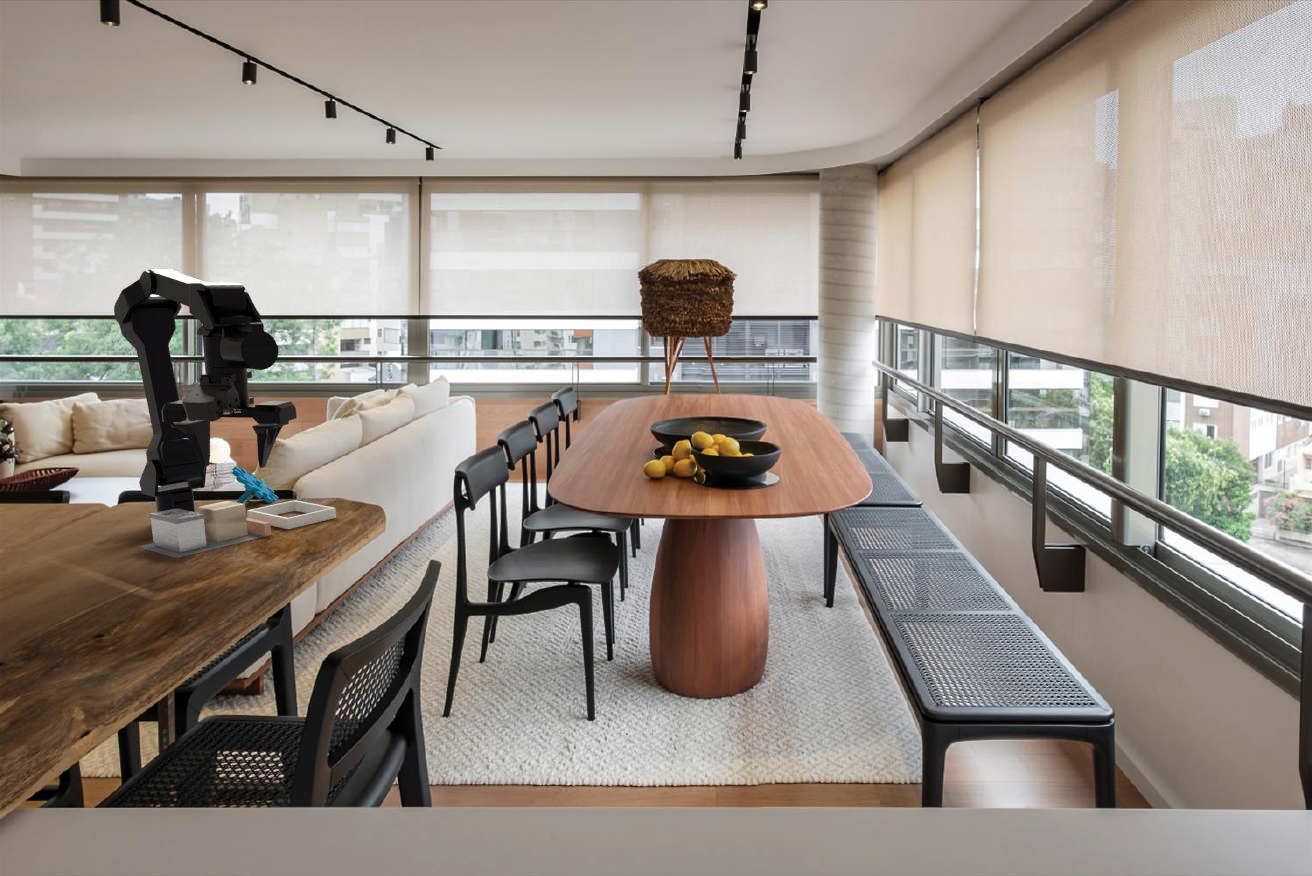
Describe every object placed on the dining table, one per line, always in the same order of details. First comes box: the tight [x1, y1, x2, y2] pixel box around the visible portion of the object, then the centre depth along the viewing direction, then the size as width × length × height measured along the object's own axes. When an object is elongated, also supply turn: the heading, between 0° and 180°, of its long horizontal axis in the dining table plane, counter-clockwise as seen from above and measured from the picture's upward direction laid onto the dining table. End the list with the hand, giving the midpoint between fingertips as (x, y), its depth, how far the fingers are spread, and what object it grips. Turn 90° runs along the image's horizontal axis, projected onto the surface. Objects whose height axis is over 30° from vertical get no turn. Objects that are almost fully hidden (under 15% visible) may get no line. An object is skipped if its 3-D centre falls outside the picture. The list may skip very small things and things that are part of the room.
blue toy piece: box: [231, 466, 279, 504], centre depth 168 cm, size 11×6×10 cm
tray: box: [246, 499, 337, 530], centre depth 152 cm, size 12×9×2 cm
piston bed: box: [137, 516, 272, 559], centre depth 139 cm, size 12×15×3 cm
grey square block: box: [149, 508, 207, 553], centre depth 136 cm, size 8×4×5 cm, turn 54°
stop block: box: [197, 500, 248, 542], centre depth 141 cm, size 5×5×5 cm
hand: (234, 466), depth 138 cm, fingers open, 9 cm apart
